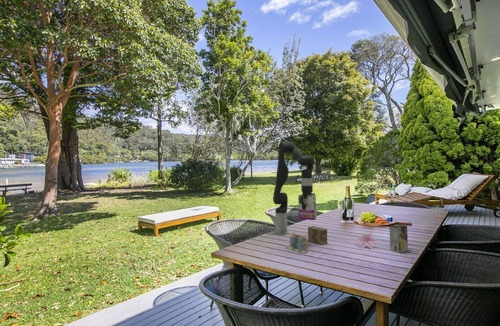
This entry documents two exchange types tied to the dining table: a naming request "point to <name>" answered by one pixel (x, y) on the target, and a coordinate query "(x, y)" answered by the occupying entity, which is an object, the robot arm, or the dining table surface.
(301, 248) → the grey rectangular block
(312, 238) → the walnut bookend
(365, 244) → the lily
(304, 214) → the candy bar box
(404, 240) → the coffee box
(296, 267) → the dining table surface
